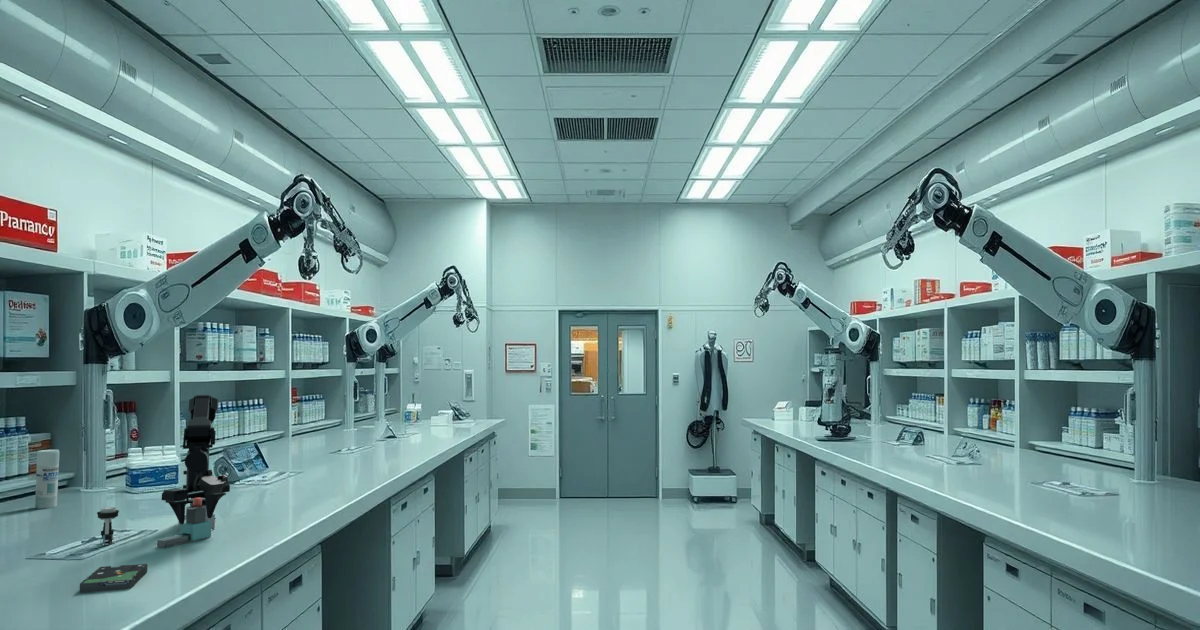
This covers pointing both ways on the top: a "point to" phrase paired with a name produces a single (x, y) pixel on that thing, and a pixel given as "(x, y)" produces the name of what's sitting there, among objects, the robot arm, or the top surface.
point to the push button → (107, 523)
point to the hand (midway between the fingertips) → (195, 521)
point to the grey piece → (205, 518)
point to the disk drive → (113, 578)
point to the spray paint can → (47, 479)
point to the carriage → (196, 524)
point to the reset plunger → (197, 502)
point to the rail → (174, 540)
